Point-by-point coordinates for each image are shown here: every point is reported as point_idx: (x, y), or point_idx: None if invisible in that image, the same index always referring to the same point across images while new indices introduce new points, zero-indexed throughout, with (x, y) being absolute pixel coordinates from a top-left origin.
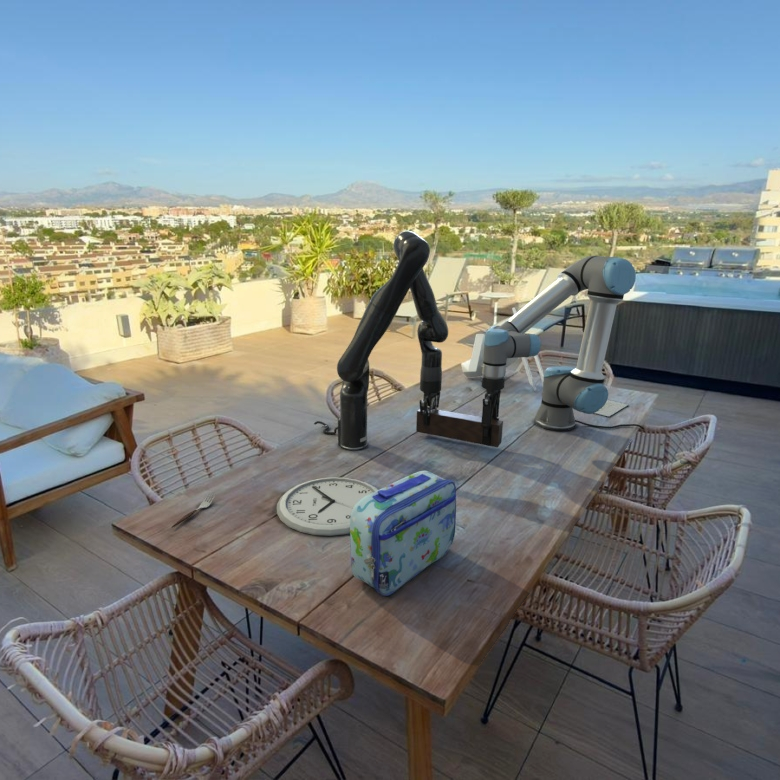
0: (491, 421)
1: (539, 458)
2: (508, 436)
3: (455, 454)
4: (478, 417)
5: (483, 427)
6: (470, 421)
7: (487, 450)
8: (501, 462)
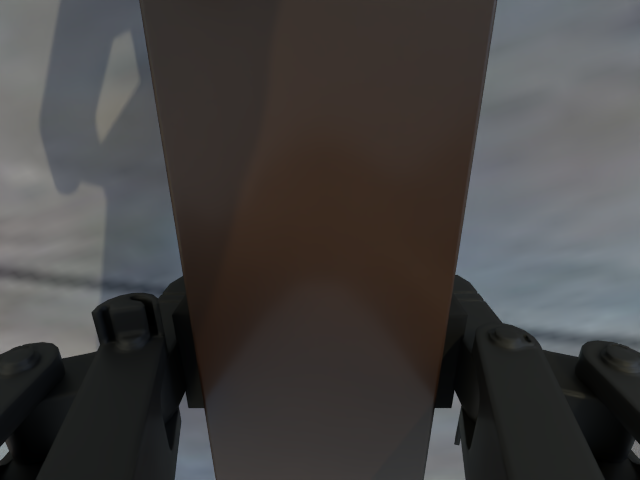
0: (320, 411)
1: None
2: (617, 286)
3: (81, 23)
4: (423, 175)
5: (182, 307)
6: (155, 77)
7: None
8: None
